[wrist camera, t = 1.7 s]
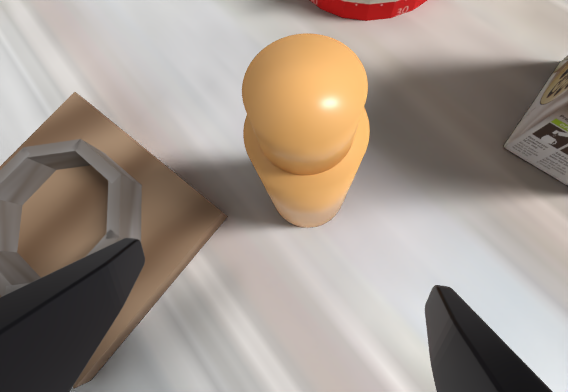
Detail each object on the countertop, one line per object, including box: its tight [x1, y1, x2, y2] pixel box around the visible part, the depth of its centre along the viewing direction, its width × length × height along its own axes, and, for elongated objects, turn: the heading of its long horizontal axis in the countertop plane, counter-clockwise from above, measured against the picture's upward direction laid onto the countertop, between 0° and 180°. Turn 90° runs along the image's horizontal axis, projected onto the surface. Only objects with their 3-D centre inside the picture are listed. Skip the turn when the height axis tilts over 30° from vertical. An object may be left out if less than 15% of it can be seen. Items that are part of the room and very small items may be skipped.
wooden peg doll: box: [242, 34, 370, 228], centre depth 16 cm, size 5×5×13 cm
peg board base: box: [0, 92, 228, 388], centre depth 21 cm, size 16×14×4 cm
